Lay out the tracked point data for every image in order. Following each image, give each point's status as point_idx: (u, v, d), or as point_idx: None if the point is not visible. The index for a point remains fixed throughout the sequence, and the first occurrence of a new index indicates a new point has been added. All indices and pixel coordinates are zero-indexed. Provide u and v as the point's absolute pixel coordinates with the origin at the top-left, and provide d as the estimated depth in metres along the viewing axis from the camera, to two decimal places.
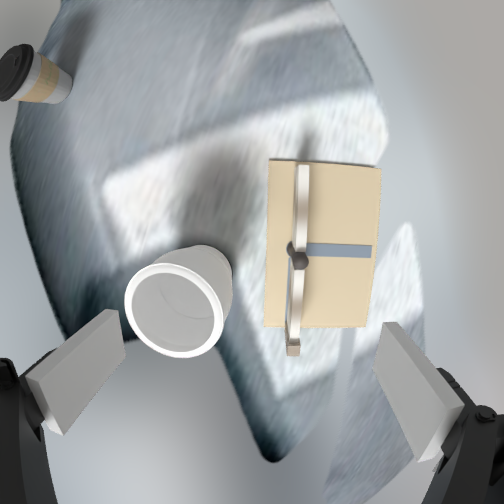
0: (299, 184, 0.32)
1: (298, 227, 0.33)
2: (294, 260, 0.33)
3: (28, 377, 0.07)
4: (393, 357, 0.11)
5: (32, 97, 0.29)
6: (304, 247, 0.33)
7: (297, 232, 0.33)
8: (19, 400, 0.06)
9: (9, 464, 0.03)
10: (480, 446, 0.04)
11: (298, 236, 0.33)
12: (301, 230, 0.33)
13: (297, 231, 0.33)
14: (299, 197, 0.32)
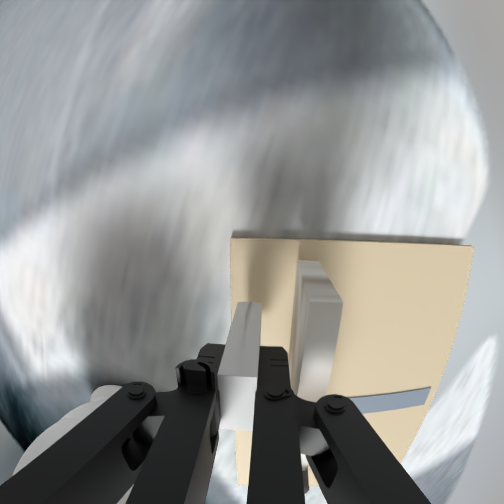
0: (306, 357, 0.10)
1: None
2: None
3: (222, 375, 0.09)
4: None
5: None
6: (303, 465, 0.12)
7: None
8: (209, 412, 0.07)
9: (170, 486, 0.04)
10: (277, 426, 0.07)
11: None
12: None
13: None
14: (302, 387, 0.10)
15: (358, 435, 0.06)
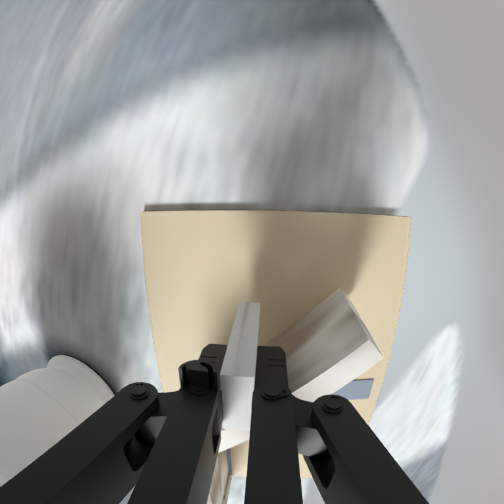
0: (323, 375, 0.10)
1: None
2: None
3: (224, 375, 0.09)
4: None
5: None
6: None
7: (224, 431, 0.12)
8: (212, 412, 0.07)
9: (172, 487, 0.04)
10: (274, 426, 0.07)
11: None
12: (235, 434, 0.12)
13: (227, 429, 0.12)
14: (294, 395, 0.11)
15: (355, 435, 0.06)
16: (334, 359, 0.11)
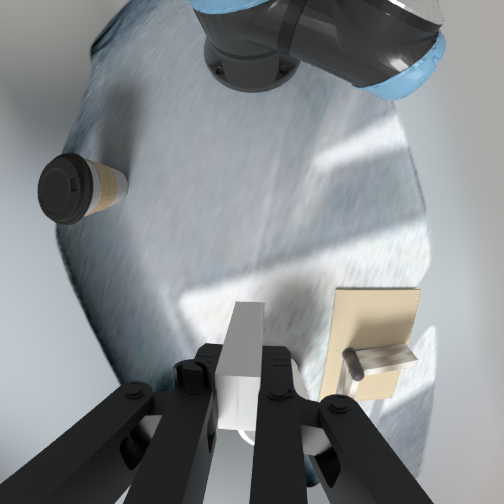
0: (406, 362, 0.40)
1: (380, 368, 0.40)
2: (360, 372, 0.40)
3: (219, 374, 0.09)
4: None
5: None
6: (366, 374, 0.41)
7: (376, 368, 0.40)
8: (206, 411, 0.07)
9: (167, 486, 0.04)
10: (280, 426, 0.07)
11: (374, 369, 0.40)
12: (378, 370, 0.40)
13: (377, 368, 0.40)
14: (398, 364, 0.40)
15: (361, 435, 0.06)
16: (409, 360, 0.40)
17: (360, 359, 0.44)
